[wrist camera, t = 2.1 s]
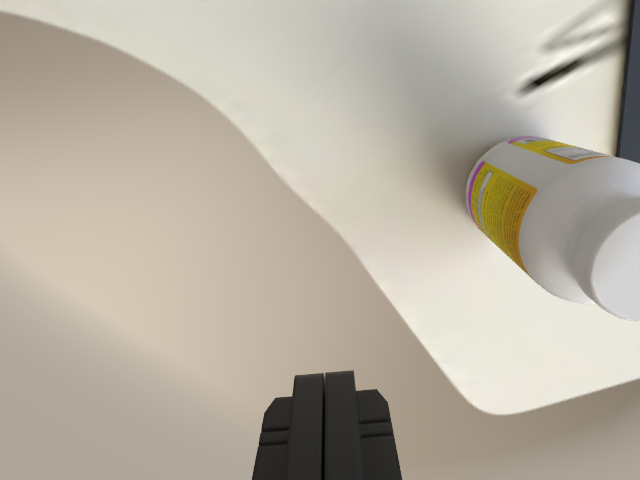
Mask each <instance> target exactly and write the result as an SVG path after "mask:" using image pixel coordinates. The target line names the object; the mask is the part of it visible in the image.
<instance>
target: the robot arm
mask: <svg viewBox="0 0 640 480" xmlns="http://www.w3.org/2000/svg"><path fill="white" fill-rule="evenodd" d="M252 480H402V477H401V471H400V466H399V460H398V455H397V450H396V444H395V439H394V434H393V429H392V423H391V418H390V412H389V407H388V402H387V401H386V400H385V399H384V398H383V396H382V395H381V394H380V393H379V392H378V390H377V389H374V390H362V391H356V388H355V379H354V371H342V372H330V373H325V378H324V374H323V373H321V374H320V373H319V374H309V375H296V376H295V378H294V387H293V396H292V397H280V398H275V399H274V401H273V402H272V403H271V405H270V406H269V407H268V409H267V410H266V412H265V413H264V418H263V424H262V433H261V435H260V440H259V447H258V450H257V455H256V460H255V466H254V471H253V476H252Z"/></svg>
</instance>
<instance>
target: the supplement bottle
mask: <svg viewBox="0 0 640 480" xmlns="http://www.w3.org/2000/svg"><path fill="white" fill-rule="evenodd" d="M466 204H467V209H468V212H469V214H470V216H471V218H472V220H473V221H474V223H475V224H476V226H477V227H478V228H479V229H480V230H481V231H482V232H483V233H484V234H485V235H486V236H487V237H488V238H489V239H490V240H491V241H492V242H494V243H495V244H496V245H497V246H498V247H499V248H500V249H501V250H502V251H503V252H504V253H505V254H506V255H507V256H509V257H510V258H511V259H512V260H513V261H514V262H515V263H516V264H517V265H518V266H519V267H520V268H521V269H522V270H524V271H525V272H526V273H527V274H528V275H529V276H530V277H531V278H532V279H533V280H534V281H535V282H536V283H537V284H539V285H540V286H541V287H542V288H544V289H545V290H546V291H548V292H549V293H551V294H553V295H554V296H557V297H559V298H561V299H564V300H567V301H570V302H575V303H581V304H598V305H599V306H600V307H601V308H603V309H604V310H605V311H607V312H609V313H610V314H612V315H614V316H617V317H619V318H622V319H626V320H631V321H640V164H639V163H636V162H633V161H630V160H626V159H623V158H618V157H614V156H610V155H606V154H602V153H598V152H594V151H591V150H587V149H584V148H580V147H576V146H572V145H568V144H564V143H560V142H556V141H553V140H549V139H545V138H539V137H532V136H524V137H516V138H512V139H508V140H506V141H503V142H501V143H499V144H497V145H495V146H494V147H492V148H491V149H490V150H488V151H487V152H486V153H485V154H484V155H483V156H482V157H481V158H480V159H479V160H478V162H477V163H476V164H475V166H474V168H473V169H472V171H471V173H470V176H469V178H468V182H467V187H466Z"/></svg>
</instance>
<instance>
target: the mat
mask: <svg viewBox="0 0 640 480" xmlns="http://www.w3.org/2000/svg"><path fill="white" fill-rule="evenodd" d="M616 157H618V158H623V159H626V160H630V161H633V162H636V163H639V164H640V0H632V5H631V15H630V25H629V36H628V46H627V56H626V66H625V76H624V86H623V96H622V106H621V116H620V126H619V136H618V146H617V156H616Z"/></svg>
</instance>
